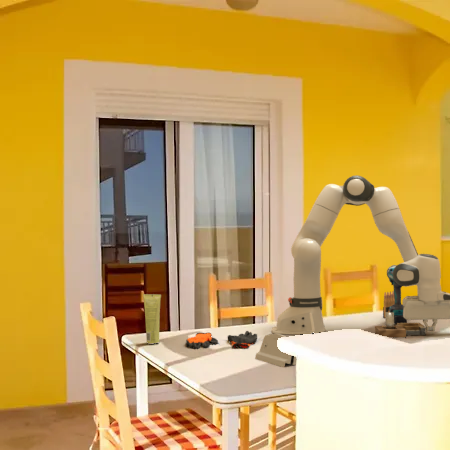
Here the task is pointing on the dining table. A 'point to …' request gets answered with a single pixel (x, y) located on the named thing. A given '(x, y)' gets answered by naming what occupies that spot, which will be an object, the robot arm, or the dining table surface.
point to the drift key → (416, 331)
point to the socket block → (391, 331)
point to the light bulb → (389, 320)
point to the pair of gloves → (206, 340)
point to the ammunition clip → (388, 302)
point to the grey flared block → (274, 352)
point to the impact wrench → (396, 298)
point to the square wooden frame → (410, 326)
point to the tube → (152, 317)
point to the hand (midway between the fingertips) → (430, 330)
